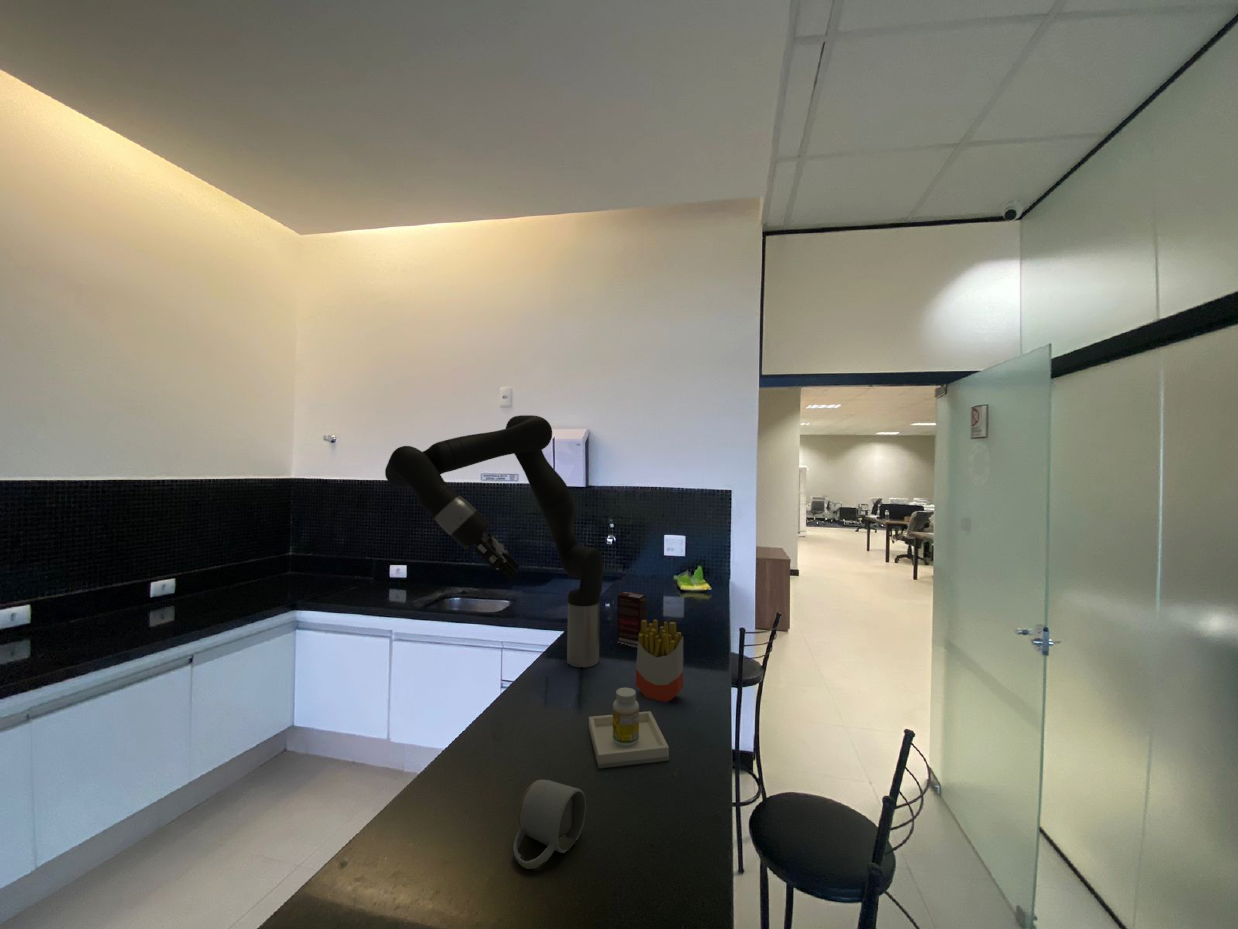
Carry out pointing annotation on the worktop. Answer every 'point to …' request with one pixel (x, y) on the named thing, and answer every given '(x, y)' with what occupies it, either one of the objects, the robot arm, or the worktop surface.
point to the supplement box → (630, 617)
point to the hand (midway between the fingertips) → (516, 573)
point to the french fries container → (659, 661)
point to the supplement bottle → (625, 717)
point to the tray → (614, 755)
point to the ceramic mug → (549, 817)
